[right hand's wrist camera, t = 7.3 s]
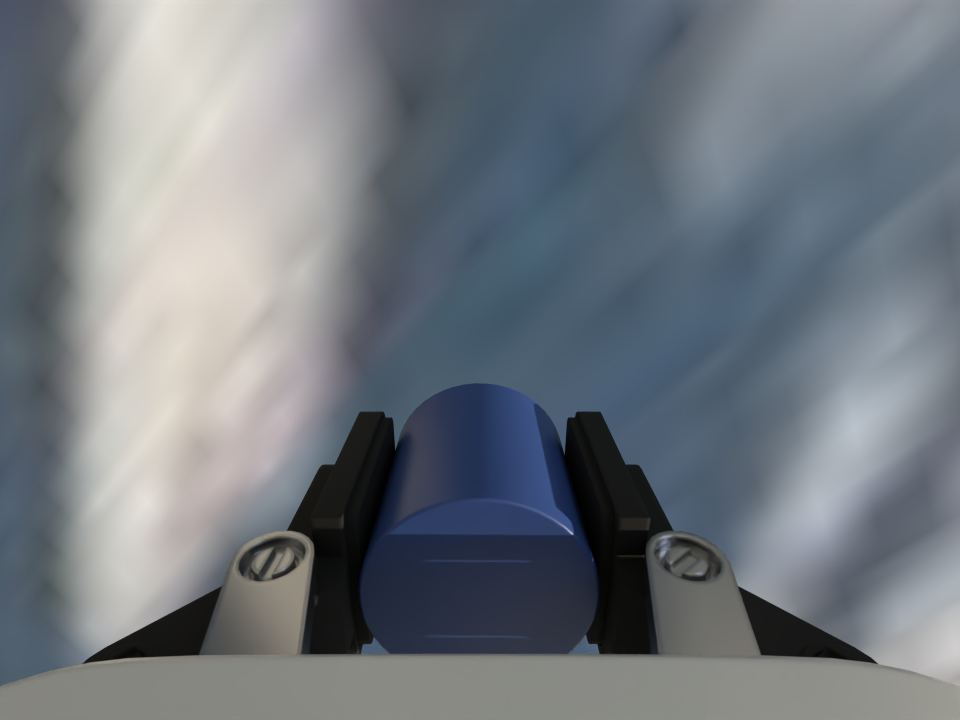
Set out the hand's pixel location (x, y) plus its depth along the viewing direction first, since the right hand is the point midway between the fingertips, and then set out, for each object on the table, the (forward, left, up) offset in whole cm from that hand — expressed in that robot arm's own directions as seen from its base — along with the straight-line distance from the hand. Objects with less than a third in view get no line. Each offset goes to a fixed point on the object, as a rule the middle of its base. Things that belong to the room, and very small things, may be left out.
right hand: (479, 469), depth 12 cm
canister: (0, 0, -1) cm, 1 cm away
